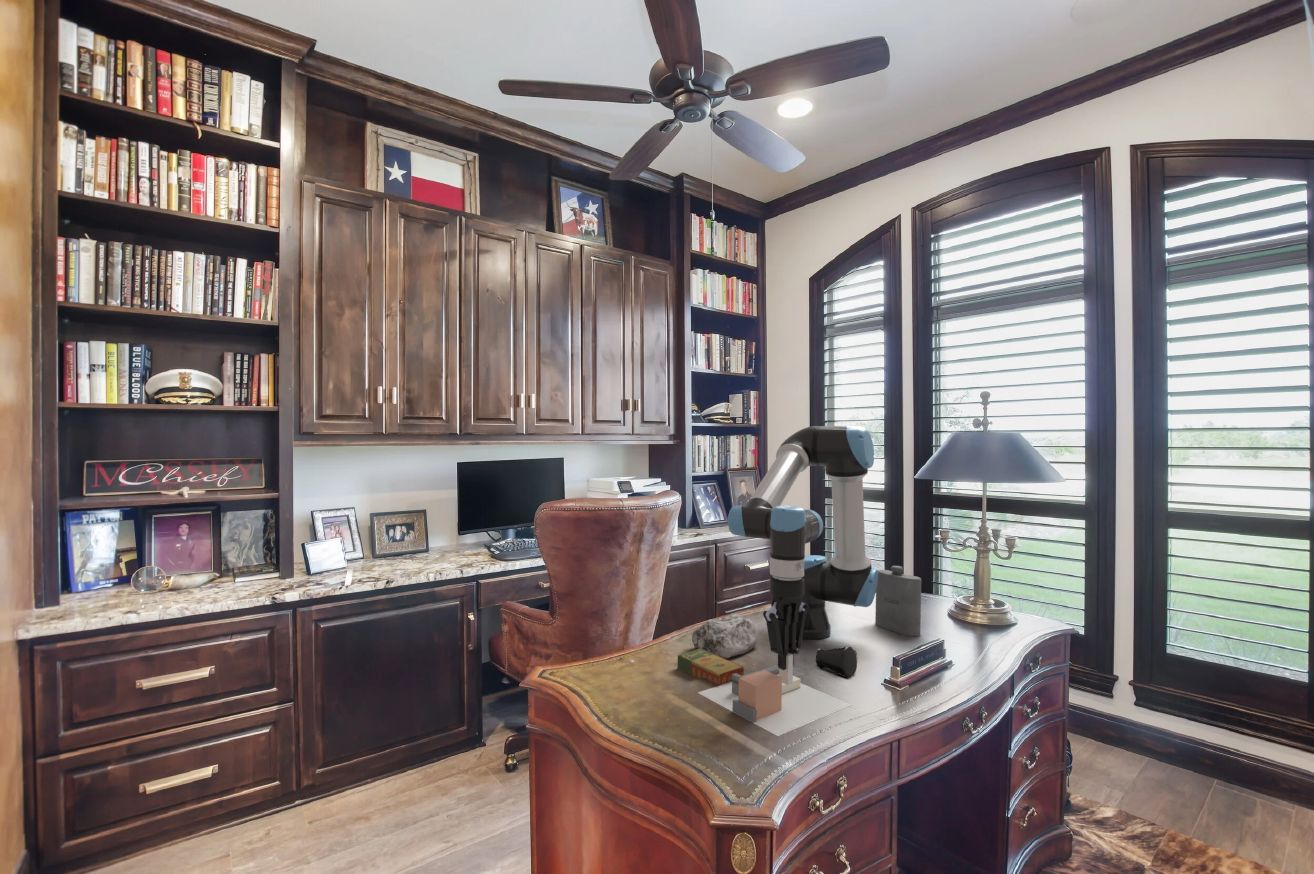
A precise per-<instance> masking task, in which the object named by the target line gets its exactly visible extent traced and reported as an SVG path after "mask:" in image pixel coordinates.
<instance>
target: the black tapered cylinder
mask: <svg viewBox="0 0 1314 874" xmlns="http://www.w3.org/2000/svg"><path fill="white" fill-rule="evenodd" d="M857 655H858V654H857V651H856V650H855V649H854V648H853V647H852V646H849V645H848V646H847V645H846V646H842V647H837V648H831V649H826V650H825V648H824V649H823V648H822V647H820V648H818V649H817V650H816V652H815V664H816V666H817V668H819V669H823V668H826V669H828V670H830V671H832V672H834V673H837V675H838V674H839V675H840V676H842V677H844V678H847V679H848V678H852V677H854V675H856V672H857V668H858V657H857Z"/></svg>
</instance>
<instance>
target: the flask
mask: <svg viewBox="0 0 1314 874" xmlns="http://www.w3.org/2000/svg"><path fill="white" fill-rule="evenodd" d="M890 569H891V570H888V569H877V570H878V583H877V589H876V593H875V617H874V618H875V620H874V621H875V622H874V623H875V625H876V626H878V627H879V628H880V629H881V628H882V629H884V630H886V631H890V632H893V633H897V634H901V635H905V636H908V637H919V636H920V635H921V623H922V622H921V618H922V617H921V616H922V615H921V613H922V578H921V577H919V576H915V575H911V574H907V573H906V574H904V567H903V566H900V565H892V566H891V567H890Z"/></svg>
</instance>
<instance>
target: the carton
mask: <svg viewBox="0 0 1314 874" xmlns="http://www.w3.org/2000/svg"><path fill="white" fill-rule="evenodd" d="M677 670H679V671H681V672H683V673H685V674H687V675H689V676H691V677H693V678H695V679H696V680H700V679H703V678H704V679H706V680H708V681H709V682H712V683H714V684H716V685H718V686H720V685H723V684H726V683H729V682H732V674H735V673H737V674H739V675H741V676H742V675H745V673H744V672H745V670H744V666H742V665H739V664H737V663H736V662H733V661H731V660H728V659H727V658H725V659H724V658H722V657H719V656H717V655H715V654H712V653H710V652H708V651H706V650H703V649H698V648H696V649H694V650H691V651H686V652H683V653H679V654H678V655H677Z"/></svg>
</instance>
